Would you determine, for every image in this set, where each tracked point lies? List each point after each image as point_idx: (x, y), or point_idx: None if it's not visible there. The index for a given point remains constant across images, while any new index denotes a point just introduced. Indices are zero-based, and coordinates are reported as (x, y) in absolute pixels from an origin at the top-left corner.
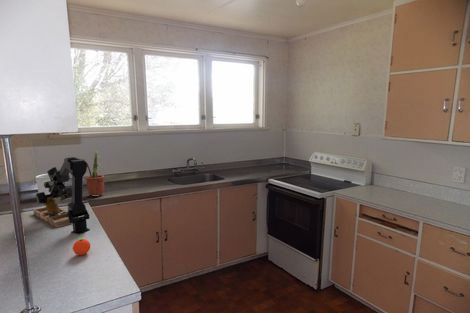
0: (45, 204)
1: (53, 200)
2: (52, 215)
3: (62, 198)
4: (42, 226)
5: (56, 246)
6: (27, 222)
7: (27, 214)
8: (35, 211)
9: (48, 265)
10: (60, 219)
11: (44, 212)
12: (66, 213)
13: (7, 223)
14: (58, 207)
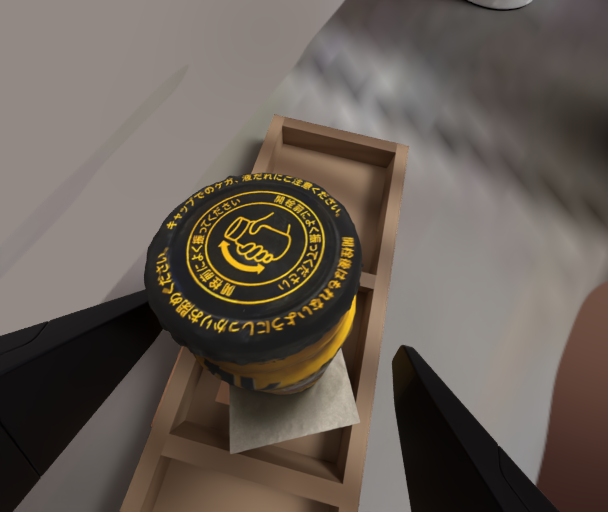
0: (145, 350)
1: (264, 388)
2: (230, 394)
3: (426, 469)
4: (90, 469)
5: None
6: (147, 247)
7: (262, 110)
8: (261, 151)
9: None
10: (236, 508)
11: None
12: (322, 501)
13: (107, 152)
14: (320, 376)
